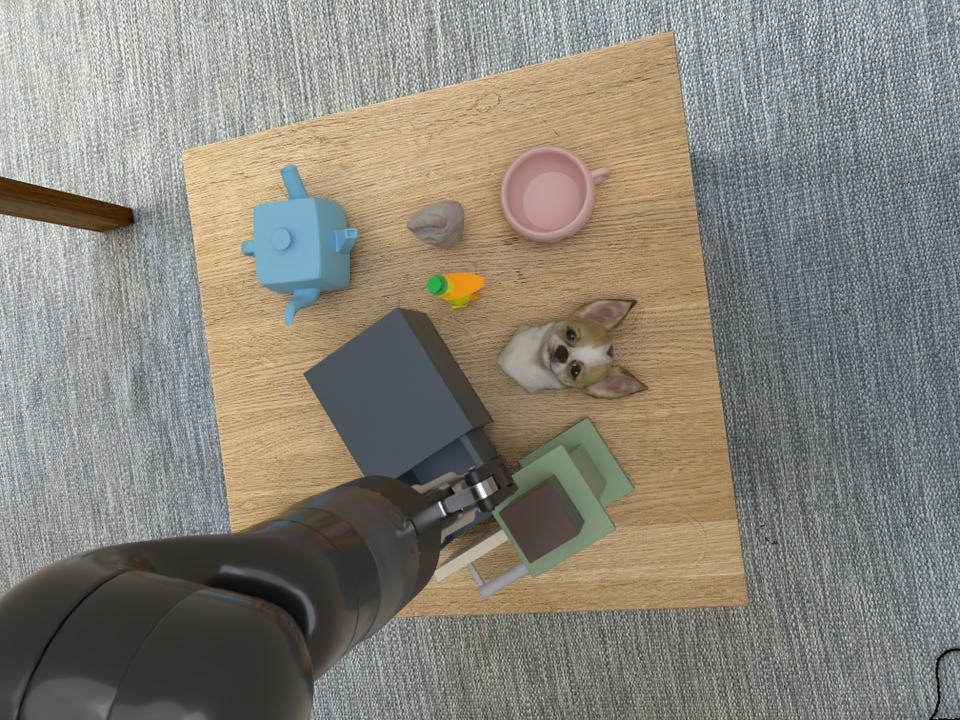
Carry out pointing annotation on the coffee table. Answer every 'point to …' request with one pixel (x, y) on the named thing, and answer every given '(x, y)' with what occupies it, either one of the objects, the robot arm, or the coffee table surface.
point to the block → (542, 519)
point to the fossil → (439, 223)
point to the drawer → (458, 460)
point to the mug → (549, 193)
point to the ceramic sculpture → (572, 353)
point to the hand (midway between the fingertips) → (437, 503)
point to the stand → (573, 487)
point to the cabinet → (396, 394)
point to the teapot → (300, 245)
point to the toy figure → (456, 288)
